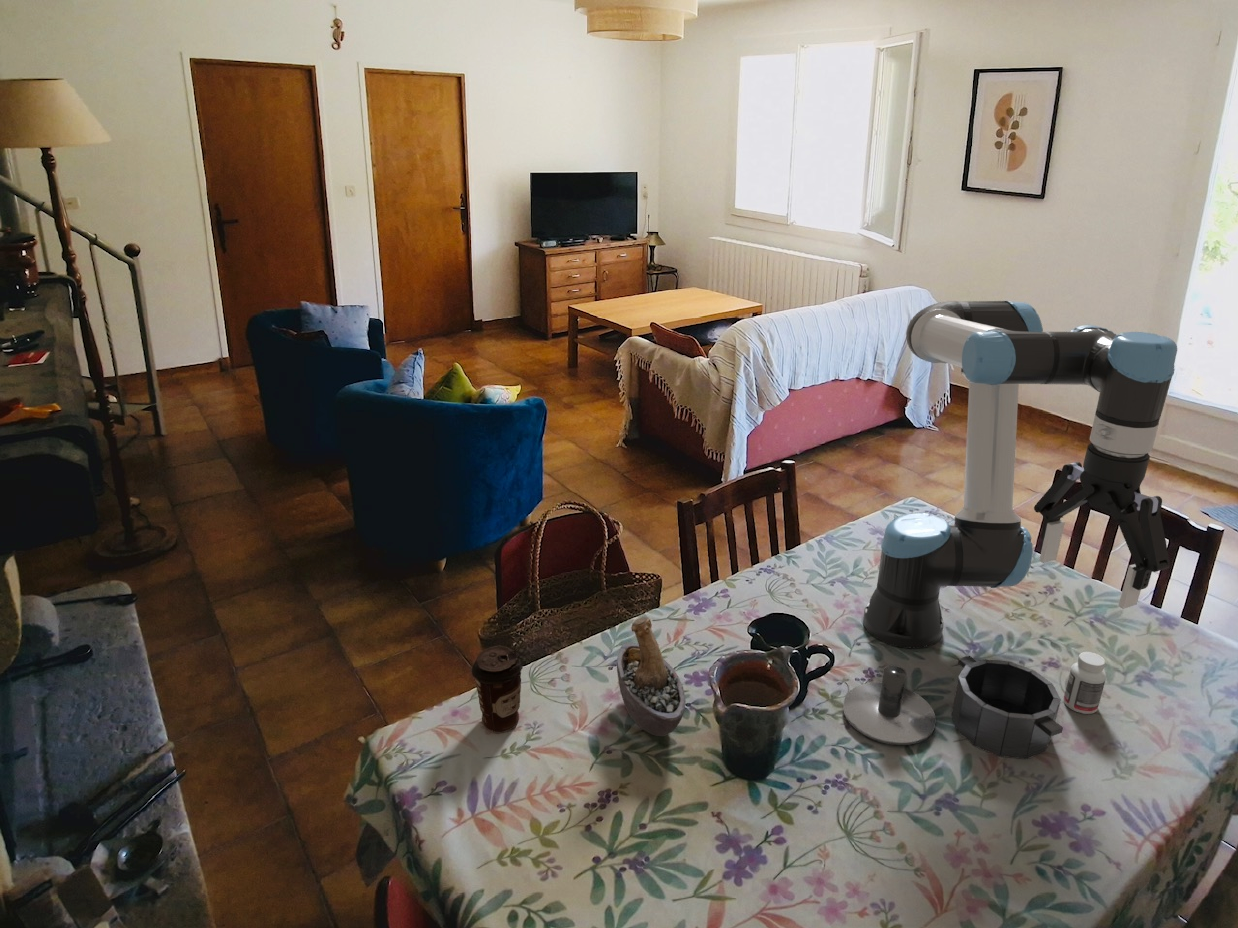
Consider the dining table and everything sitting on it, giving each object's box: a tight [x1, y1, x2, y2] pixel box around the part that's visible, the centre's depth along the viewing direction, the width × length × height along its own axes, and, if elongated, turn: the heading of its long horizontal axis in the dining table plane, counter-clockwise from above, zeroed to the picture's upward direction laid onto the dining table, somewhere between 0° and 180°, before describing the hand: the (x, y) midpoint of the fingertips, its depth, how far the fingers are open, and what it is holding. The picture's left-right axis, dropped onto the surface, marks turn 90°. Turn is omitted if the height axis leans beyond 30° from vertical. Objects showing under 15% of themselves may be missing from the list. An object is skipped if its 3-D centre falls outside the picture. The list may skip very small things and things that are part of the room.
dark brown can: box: [471, 644, 524, 734], centre depth 141 cm, size 9×8×13 cm
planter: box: [616, 616, 687, 737], centre depth 140 cm, size 15×17×20 cm
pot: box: [951, 655, 1064, 760], centre depth 140 cm, size 20×15×8 cm
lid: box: [842, 664, 936, 746], centre depth 142 cm, size 15×15×10 cm
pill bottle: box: [1063, 651, 1107, 715], centre depth 145 cm, size 5×5×10 cm
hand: (1085, 582), depth 123 cm, fingers open, 13 cm apart
